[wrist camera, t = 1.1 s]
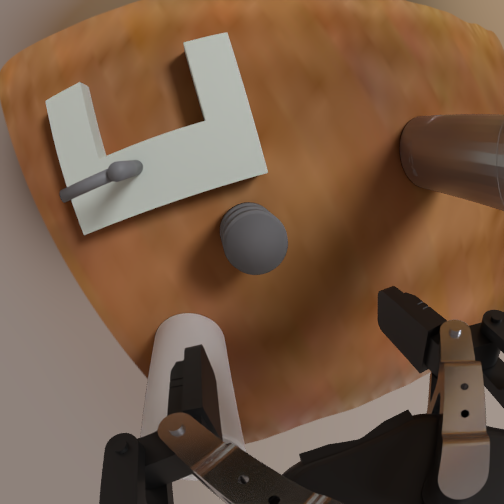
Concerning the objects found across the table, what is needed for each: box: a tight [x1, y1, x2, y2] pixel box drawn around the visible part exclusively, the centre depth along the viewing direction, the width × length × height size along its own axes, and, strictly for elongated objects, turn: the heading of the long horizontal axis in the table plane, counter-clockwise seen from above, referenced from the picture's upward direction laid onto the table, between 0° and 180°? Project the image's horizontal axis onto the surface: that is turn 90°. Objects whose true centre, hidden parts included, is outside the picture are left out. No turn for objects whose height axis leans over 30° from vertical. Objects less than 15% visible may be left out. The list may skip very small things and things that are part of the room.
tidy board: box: [46, 33, 268, 235], centre depth 21 cm, size 18×14×8 cm
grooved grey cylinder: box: [220, 202, 288, 275], centre depth 26 cm, size 5×5×6 cm
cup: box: [140, 313, 246, 480], centre depth 25 cm, size 8×8×16 cm
